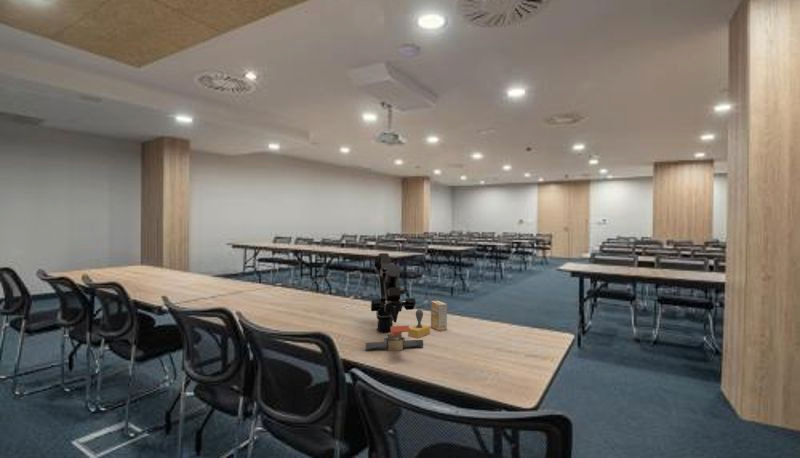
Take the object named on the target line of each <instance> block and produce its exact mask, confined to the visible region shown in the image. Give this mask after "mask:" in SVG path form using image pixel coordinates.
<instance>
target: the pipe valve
mask: <svg viewBox="0 0 800 458" xmlns="http://www.w3.org/2000/svg"><path fill="white" fill-rule="evenodd" d="M390 334H391V333H390ZM390 334H387V335H386V336H387V337H385V338H384V339H383V341H375V342H374V341H373V342H365V346H364V347H365V351H376V350H377V351H378V350H387V351H388V352H391V351H403V350H404V349H409V348H410V349H411V348H412V349H414V348H423V347H424V340H423V339H412V340H411V339H410V340H406V339H405V337H403V334H402V333H401V334H400V336H399V337H397V338H391V336H390Z"/></svg>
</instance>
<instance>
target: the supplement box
mask: <svg viewBox="0 0 800 458" xmlns="http://www.w3.org/2000/svg"><path fill="white" fill-rule="evenodd" d="M447 325H448V303H447V302H446V303H445V302H443V301H441V300H431V301H430V328H433V329H435V330H437V331H439V332H443V331H447V330H448V328H447Z"/></svg>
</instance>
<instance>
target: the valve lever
mask: <svg viewBox="0 0 800 458" xmlns="http://www.w3.org/2000/svg"><path fill="white" fill-rule="evenodd" d="M409 328H410V325H393V326H391V332H390V337H391V338H397V337H399V336H400V334H402V333H404V332H405V333H408V332H409Z"/></svg>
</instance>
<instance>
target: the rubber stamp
mask: <svg viewBox="0 0 800 458" xmlns="http://www.w3.org/2000/svg"><path fill="white" fill-rule="evenodd" d="M415 317H416V321H417V324H416V325H414V326H412V327H409V332H407V336H408V337H411V338H414V339H419V338H423V337H424V336H427V335H430V334H431V325H428V324H423V323H421V322H422V319H423V318H424V311H422V309H417V310H416V312H415Z"/></svg>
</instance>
